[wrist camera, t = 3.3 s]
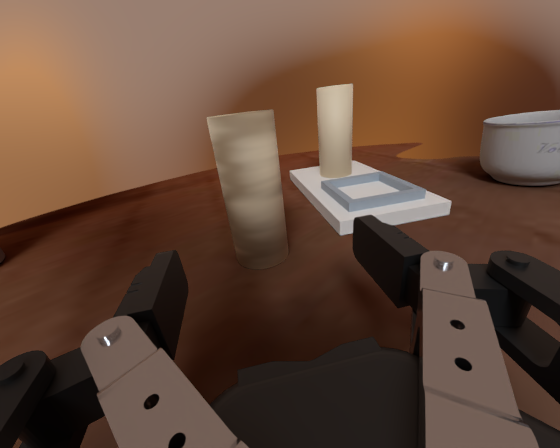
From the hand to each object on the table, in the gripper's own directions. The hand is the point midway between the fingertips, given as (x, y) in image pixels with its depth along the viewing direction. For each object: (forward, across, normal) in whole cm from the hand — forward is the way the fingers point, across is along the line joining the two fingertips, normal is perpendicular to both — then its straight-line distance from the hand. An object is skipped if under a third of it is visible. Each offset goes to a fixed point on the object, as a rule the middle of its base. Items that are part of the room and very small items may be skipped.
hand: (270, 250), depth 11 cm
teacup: (+16, -37, +7) cm, 41 cm away
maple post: (+10, 0, +6) cm, 12 cm away
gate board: (+22, -14, +6) cm, 27 cm away
